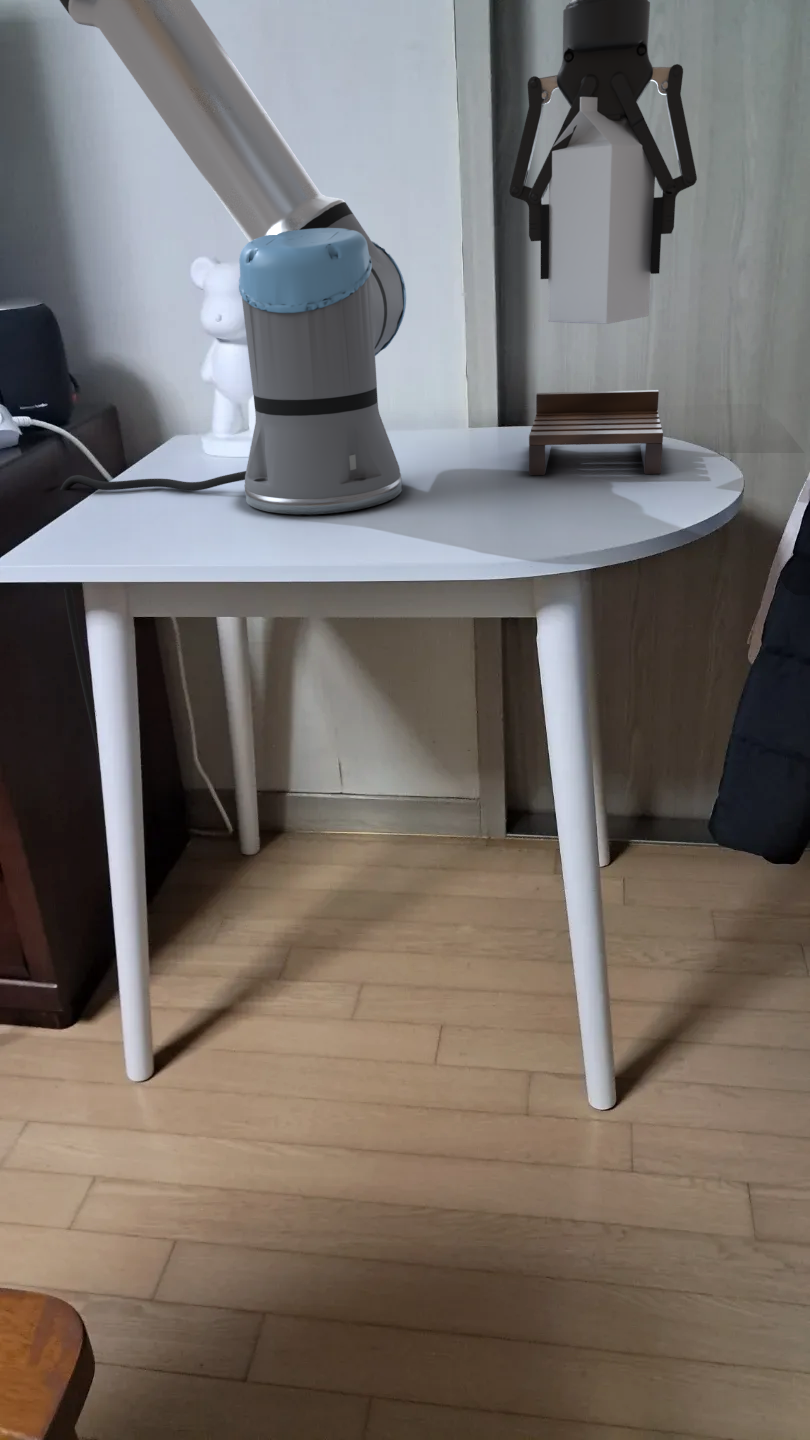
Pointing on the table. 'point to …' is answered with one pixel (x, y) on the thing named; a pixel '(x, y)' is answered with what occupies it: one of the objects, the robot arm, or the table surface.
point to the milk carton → (599, 222)
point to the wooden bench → (596, 424)
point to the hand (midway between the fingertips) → (599, 275)
